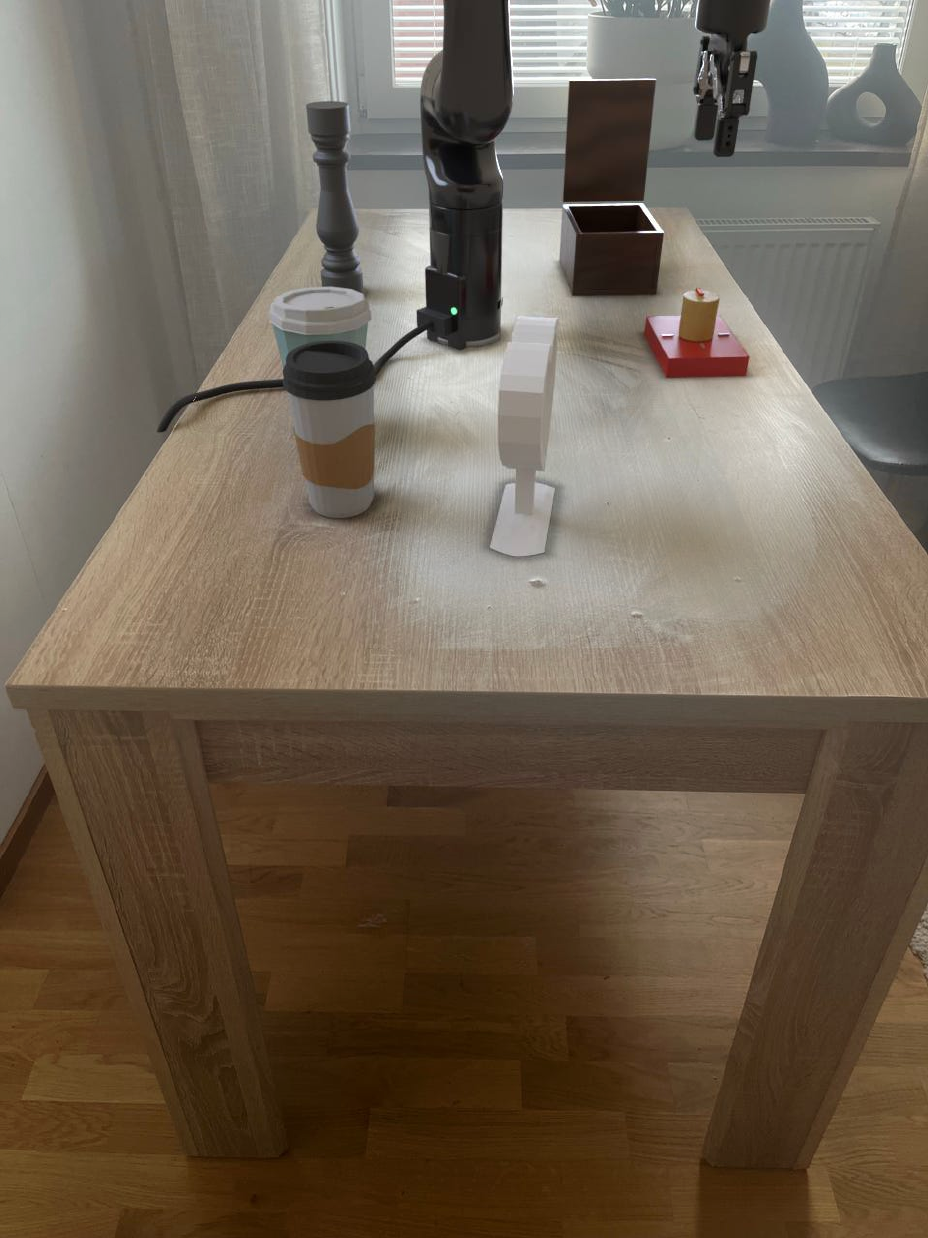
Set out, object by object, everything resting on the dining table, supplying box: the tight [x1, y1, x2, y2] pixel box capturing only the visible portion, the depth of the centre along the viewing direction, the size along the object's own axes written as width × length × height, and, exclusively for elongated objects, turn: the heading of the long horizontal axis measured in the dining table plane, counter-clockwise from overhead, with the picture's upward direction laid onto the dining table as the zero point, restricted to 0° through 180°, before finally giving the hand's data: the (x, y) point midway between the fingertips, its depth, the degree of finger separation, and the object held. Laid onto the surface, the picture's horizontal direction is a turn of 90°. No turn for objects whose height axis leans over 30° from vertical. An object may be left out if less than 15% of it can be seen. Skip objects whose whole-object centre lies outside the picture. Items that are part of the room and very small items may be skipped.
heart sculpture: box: [489, 315, 560, 558], centre depth 83 cm, size 16×5×18 cm, turn 171°
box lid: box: [562, 78, 657, 203], centre depth 140 cm, size 16×13×5 cm
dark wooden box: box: [558, 203, 665, 297], centre depth 140 cm, size 16×13×9 cm
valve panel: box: [643, 314, 751, 378], centre depth 118 cm, size 14×10×3 cm
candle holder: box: [305, 100, 365, 295], centre depth 130 cm, size 6×6×25 cm
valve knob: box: [678, 287, 721, 342], centre depth 116 cm, size 4×4×5 cm
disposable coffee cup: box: [268, 286, 372, 369], centre depth 99 cm, size 11×11×15 cm
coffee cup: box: [282, 341, 377, 519], centre depth 86 cm, size 8×8×15 cm
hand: (713, 147), depth 107 cm, fingers open, 8 cm apart
